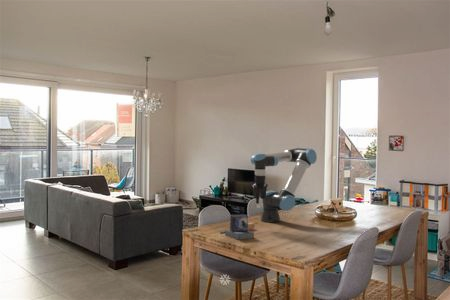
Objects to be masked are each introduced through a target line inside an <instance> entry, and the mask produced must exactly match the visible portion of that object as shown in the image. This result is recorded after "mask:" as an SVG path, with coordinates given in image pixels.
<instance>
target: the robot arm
mask: <svg viewBox="0 0 450 300" xmlns="http://www.w3.org/2000/svg"><path fill="white" fill-rule="evenodd" d="M281 162H282V163H283V162H287V163H291V162H292V163H296V164H295V166H294V167H293V169H292V172H291V174H290V175H289V178H288V180H287V182H286V184H285V186H284V187H283V188H282V189H281V190H280V191H278V190H272V191H271V190H269V191H267V190H268V183H266V167H276V166H277V165H278V164H279V163H281ZM250 163H251V164H252V165H254V184H252V185H251V187H252V195H253V198H254V199H255V203H256V209H262V213H261V216H260V221H262V222H264V223H279V222H280V221H281V216H280V213H279V210H280V211H287V212H288V211H290V210H292V209H293V208H294V207H295V205H296V199H295V197H296V196H295V193H296V191H297V189H298V187H299V185H300V182H301V181H302V179H303V177H304V174H305V173H306V171H307V169H309V168H310V167H311V165H313V164H315V163H317V152H316V151H315V150H314V149H312V148H301V147H297V148H291V149H286V150H284V151H281V152H275V153H274V152H273V153H255V154H254V155H252V156H251V158H250Z"/></svg>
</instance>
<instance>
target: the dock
mask: <svg viewBox="0 0 450 300" xmlns="http://www.w3.org/2000/svg"><path fill="white" fill-rule="evenodd" d="M219 234H225V235H224V236H225V237H226V236H227V237H230V238H232V239H235V240H237V239H238V240H237V241H241V239H242V240H246V239H247V238H248V239H252V238H254V235H255V234H254V231H251V230H248V232H232V231H230V229H229V230H228V229H225V230H223V231H220V232H219Z"/></svg>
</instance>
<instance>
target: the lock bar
mask: <svg viewBox="0 0 450 300" xmlns="http://www.w3.org/2000/svg"><path fill="white" fill-rule="evenodd" d="M255 227H256V226H255V223H254V222H248V231H251V230H254V229H255Z"/></svg>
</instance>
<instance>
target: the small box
mask: <svg viewBox="0 0 450 300" xmlns="http://www.w3.org/2000/svg"><path fill="white" fill-rule="evenodd" d="M229 217H230V219H229V220H230V222H229V225H230V226H229V230H230V231H232V232H248V231H249V230H248V223H249V216H248V215H247V214H243V213H242V214H230V215H229Z"/></svg>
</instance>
